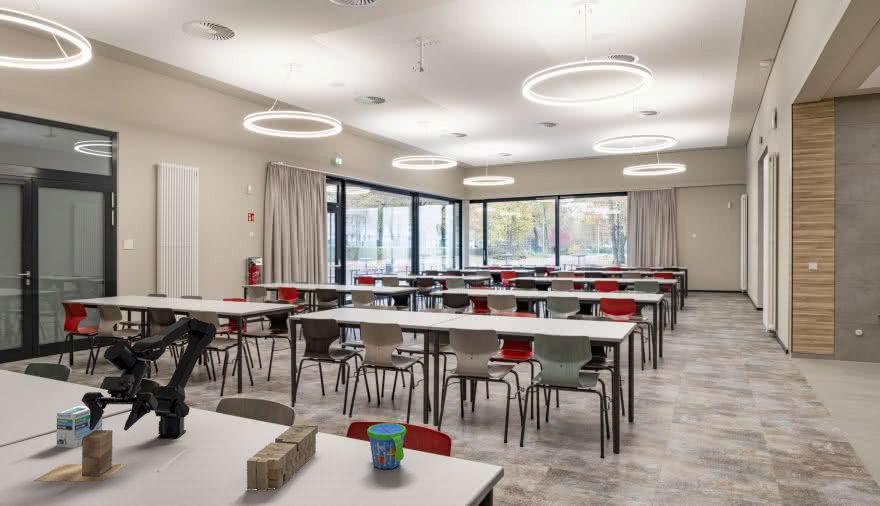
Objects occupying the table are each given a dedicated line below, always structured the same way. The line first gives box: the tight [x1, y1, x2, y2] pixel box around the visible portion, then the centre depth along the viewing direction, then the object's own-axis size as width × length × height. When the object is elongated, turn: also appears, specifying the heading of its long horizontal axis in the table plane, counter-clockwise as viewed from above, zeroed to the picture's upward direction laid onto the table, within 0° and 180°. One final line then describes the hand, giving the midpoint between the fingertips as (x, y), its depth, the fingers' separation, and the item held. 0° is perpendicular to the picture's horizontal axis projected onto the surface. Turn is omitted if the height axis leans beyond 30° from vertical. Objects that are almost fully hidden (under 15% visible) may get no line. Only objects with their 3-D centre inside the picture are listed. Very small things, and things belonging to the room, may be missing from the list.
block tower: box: [246, 423, 319, 491], centre depth 150 cm, size 8×8×29 cm
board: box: [33, 463, 127, 482], centre depth 143 cm, size 17×11×1 cm, turn 92°
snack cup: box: [366, 422, 407, 470], centre depth 153 cm, size 16×10×10 cm
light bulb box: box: [55, 403, 104, 449], centre depth 167 cm, size 11×7×11 cm, turn 168°
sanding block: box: [81, 429, 114, 476], centre depth 143 cm, size 4×6×10 cm
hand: (107, 429), depth 148 cm, fingers open, 9 cm apart
